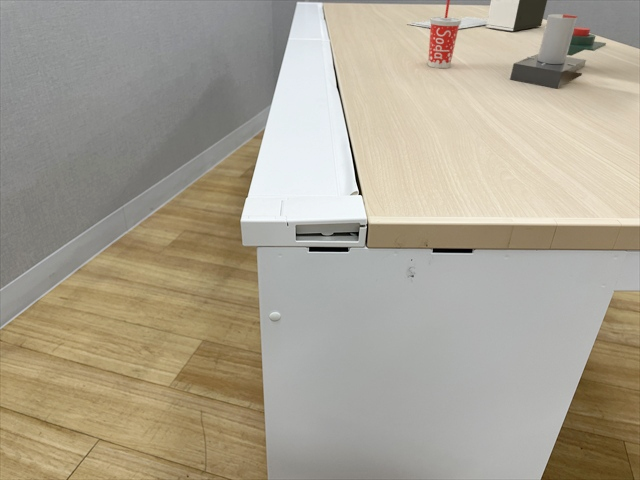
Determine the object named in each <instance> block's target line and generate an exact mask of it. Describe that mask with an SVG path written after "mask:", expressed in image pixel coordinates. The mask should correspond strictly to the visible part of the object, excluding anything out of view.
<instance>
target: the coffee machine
mask: <svg viewBox="0 0 640 480" xmlns="http://www.w3.org/2000/svg"><path fill="white" fill-rule="evenodd" d="M547 3H548V0H490V4H489V9H488V15H487V18H481V17H480V18H479V17H474V16H466V17H465V18H462V19H461V25H459V28H458V30H461V29H467V28H473V27H480V26H485V27H486V28H489V29H490V30H494V31H502V32H515V31H520V30H526V29H531V28H532V29H533V28H537V27H542V24H543V20H544V16H545V11H546V7H547ZM408 25H409V26H416V27H420V28H421V27H422V28H427V29H431V23H430V20H426V21H425V20H424V21H419V22H411V23H408Z"/></svg>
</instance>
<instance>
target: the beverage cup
mask: <svg viewBox="0 0 640 480" xmlns="http://www.w3.org/2000/svg"><path fill="white" fill-rule="evenodd" d="M450 1H451V0H446V6H445V12H444V16H433V17H430V18H429V21H430V23H431V28H430V31H429V32H430V33H429V43H428V44H429V45H428V56H427V66H428V67H430V68H434V69H435V68H436V69H449V68H450V67H451V63H452V59H453V55H454V50H455V45H456V41H457V36H458V32H459V29H458V28H459V25H461V19H457V18H455V17H448V15H449V10H450V9H449V8H450Z"/></svg>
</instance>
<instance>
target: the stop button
mask: <svg viewBox="0 0 640 480" xmlns="http://www.w3.org/2000/svg"><path fill="white" fill-rule="evenodd" d="M590 32H591V28H589V27H583V26H582V27H581V26H575V28H574V32H573V35H576V36H588V35H589V34H590Z"/></svg>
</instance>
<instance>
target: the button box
mask: <svg viewBox="0 0 640 480" xmlns="http://www.w3.org/2000/svg"><path fill="white" fill-rule="evenodd" d="M596 37H597V36H596V35H595V34H592V33H589V35H588V36H576V35H572V39H571V42H570V46H569V50H568V53H567V56H569V57H572V56H574V55H576V54H579V53H580V52H583V51H592V52H594V51H596V50H598V49H601V48H602V47H604V46H606V45H607V43H606V42H601V41H595V40H596Z"/></svg>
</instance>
